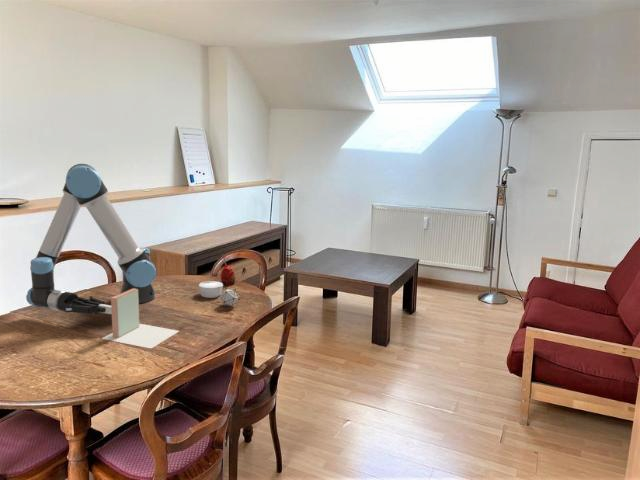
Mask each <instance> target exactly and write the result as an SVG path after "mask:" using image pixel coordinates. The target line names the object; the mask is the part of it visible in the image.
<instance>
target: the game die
mask: <svg viewBox="0 0 640 480" xmlns="http://www.w3.org/2000/svg"><path fill="white" fill-rule="evenodd" d="M236 291H237V288H235V289H229V288H227V287H225V289H224V290H223V291H222V293H221V295H220V296H219V295H218V297H219V298H220V300H221V302H222V305H221V306H222V307H224V306H229V307H231V309H233V308H234V305H235V304H236V303H237V301H240V300H241V298H239V297H238V294H237V292H236ZM218 297H217V298H218Z"/></svg>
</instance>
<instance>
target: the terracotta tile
mask: <svg viewBox="0 0 640 480" xmlns="http://www.w3.org/2000/svg"><path fill="white" fill-rule="evenodd" d="M110 306H111V311H112V314H111V328H112V329H111V330H112V333H113V337H114V338H119V337H121V336H123V335H125V334H127V333H129V332H130V331H132V330H134V329H136V328H138V327H140V326H139V324H140V303H139V298H138V289H134V288H133V289H131V290H128V291H126V292H123V293H121V294H120V293H119V294H117V295H115V296H112V297H110Z"/></svg>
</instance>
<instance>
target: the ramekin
mask: <svg viewBox="0 0 640 480" xmlns="http://www.w3.org/2000/svg"><path fill="white" fill-rule="evenodd" d="M223 287H224V284H223V283H222V281H221V282H220V281H214V280H213V281H212V280H209V281H202V282H200V283H198V289H199V294H200V295H201V297H202V298H205V299H206V298H207V299H208V298H209V299H215V298H218V295H219V297H220V295H221V294H222V293H223Z"/></svg>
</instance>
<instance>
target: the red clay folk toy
mask: <svg viewBox="0 0 640 480" xmlns="http://www.w3.org/2000/svg"><path fill="white" fill-rule="evenodd" d="M226 257H227V255H224V254H222V257H221V258H220V259H221V260H223V261H224V267H223V268H222V269H221V273H220V280H221V283H222V284H223V286H225V285H226V286H230V285H233V283H234V284H235V281H236V275H235V271H234V270H233V267H232V266H231V265H227V262H226Z"/></svg>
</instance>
